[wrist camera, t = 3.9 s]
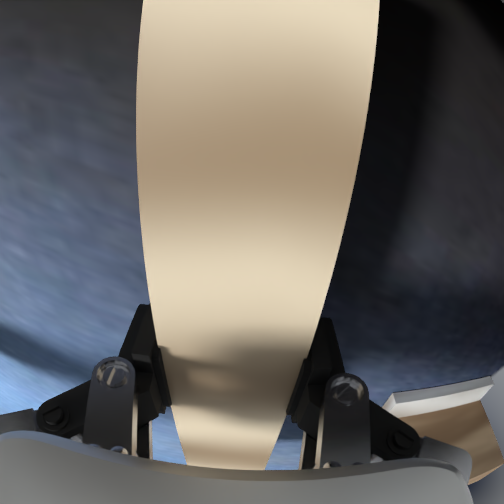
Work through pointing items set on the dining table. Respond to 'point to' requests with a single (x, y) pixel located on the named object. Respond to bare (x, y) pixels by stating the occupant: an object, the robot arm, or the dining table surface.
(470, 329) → the dining table surface
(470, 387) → the wooden block on base
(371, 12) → the beam
